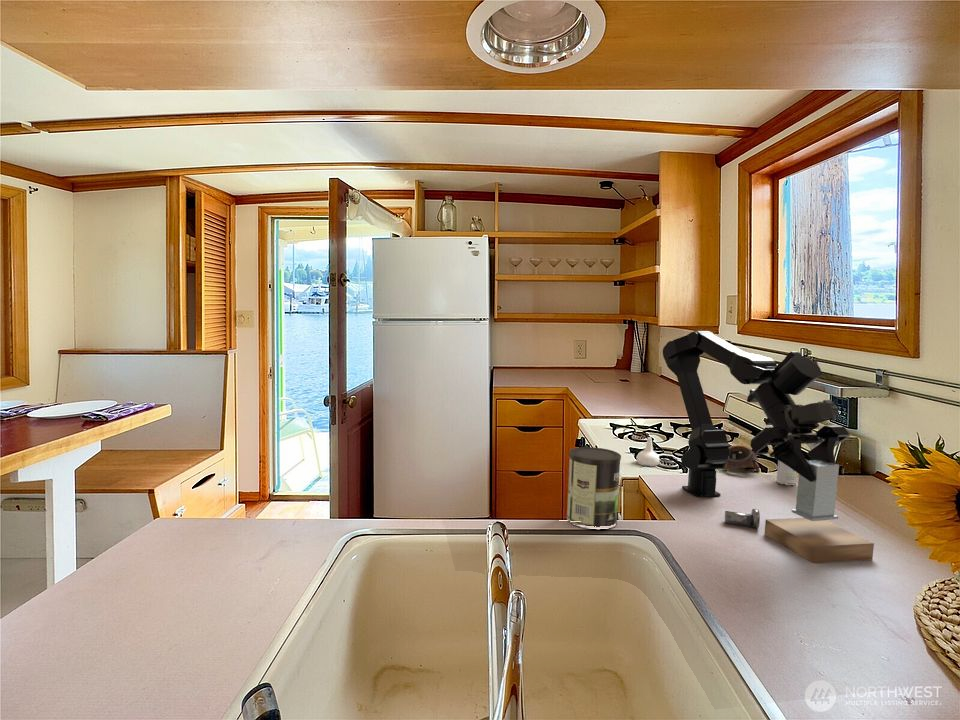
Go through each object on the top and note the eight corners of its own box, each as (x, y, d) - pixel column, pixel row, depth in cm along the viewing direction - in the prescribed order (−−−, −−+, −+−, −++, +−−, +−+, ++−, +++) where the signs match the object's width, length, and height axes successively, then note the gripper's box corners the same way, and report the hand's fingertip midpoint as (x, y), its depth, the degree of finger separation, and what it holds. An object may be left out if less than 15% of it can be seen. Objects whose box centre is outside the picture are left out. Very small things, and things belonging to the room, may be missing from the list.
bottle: (782, 485, 133) (788, 409, 131) (773, 480, 137) (779, 406, 135) (799, 486, 133) (806, 409, 131) (789, 480, 137) (796, 406, 135)
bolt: (725, 525, 105) (727, 508, 104) (724, 519, 108) (725, 502, 108) (758, 530, 103) (760, 513, 102) (755, 523, 106) (757, 507, 106)
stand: (764, 534, 101) (765, 519, 101) (817, 531, 103) (818, 517, 103) (813, 563, 89) (815, 546, 89) (872, 559, 91) (874, 543, 91)
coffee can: (615, 513, 109) (619, 448, 108) (618, 533, 99) (622, 462, 98) (566, 508, 111) (569, 444, 110) (564, 527, 101) (568, 457, 100)
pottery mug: (769, 477, 142) (763, 453, 139) (737, 491, 142) (731, 468, 139) (742, 454, 153) (737, 432, 150) (713, 467, 153) (707, 446, 150)
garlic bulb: (645, 469, 145) (648, 442, 144) (631, 461, 151) (634, 435, 149) (663, 467, 147) (666, 441, 146) (649, 459, 153) (652, 434, 152)
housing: (791, 511, 97) (796, 460, 96) (816, 509, 98) (821, 458, 97) (812, 521, 92) (817, 467, 92) (837, 518, 94) (843, 465, 93)
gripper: (767, 384, 94) (815, 460, 85) (845, 384, 100) (899, 456, 90) (732, 418, 103) (772, 490, 93) (806, 416, 108) (851, 484, 98)
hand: (824, 479), depth 93 cm, fingers closed on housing, 5 cm apart
